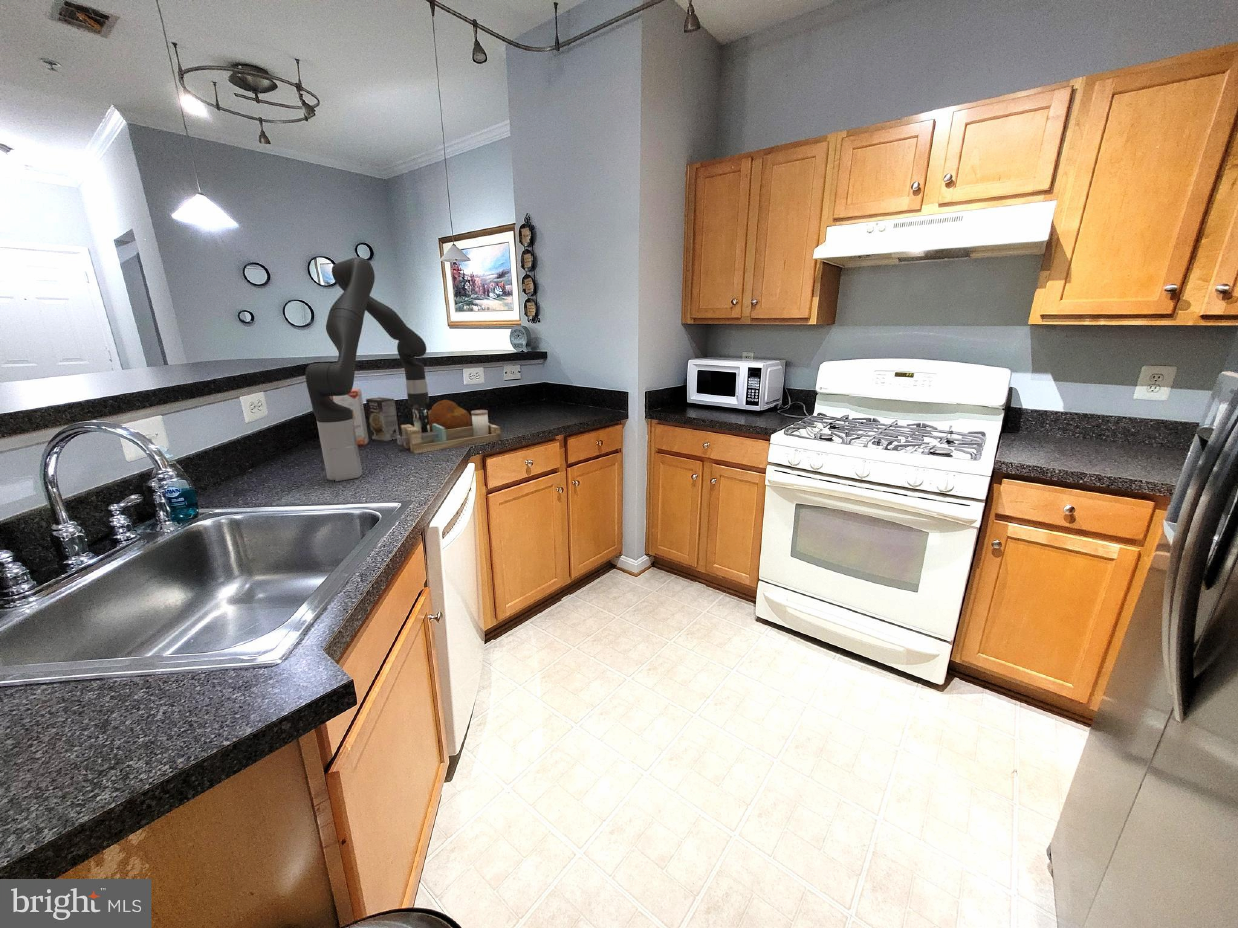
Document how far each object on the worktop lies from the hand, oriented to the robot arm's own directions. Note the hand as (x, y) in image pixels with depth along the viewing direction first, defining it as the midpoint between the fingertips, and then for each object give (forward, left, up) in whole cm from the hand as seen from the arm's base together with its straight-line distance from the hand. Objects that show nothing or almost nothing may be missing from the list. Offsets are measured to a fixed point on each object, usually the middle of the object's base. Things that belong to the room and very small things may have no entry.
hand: (422, 434), depth 189 cm
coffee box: (+13, +11, -3) cm, 17 cm away
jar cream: (-13, -19, -2) cm, 23 cm away
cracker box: (+11, +25, -3) cm, 27 cm away
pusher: (-13, +5, -2) cm, 14 cm away
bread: (+17, -15, -3) cm, 23 cm away
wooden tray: (-13, -7, -2) cm, 15 cm away
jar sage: (0, 0, -2) cm, 2 cm away
